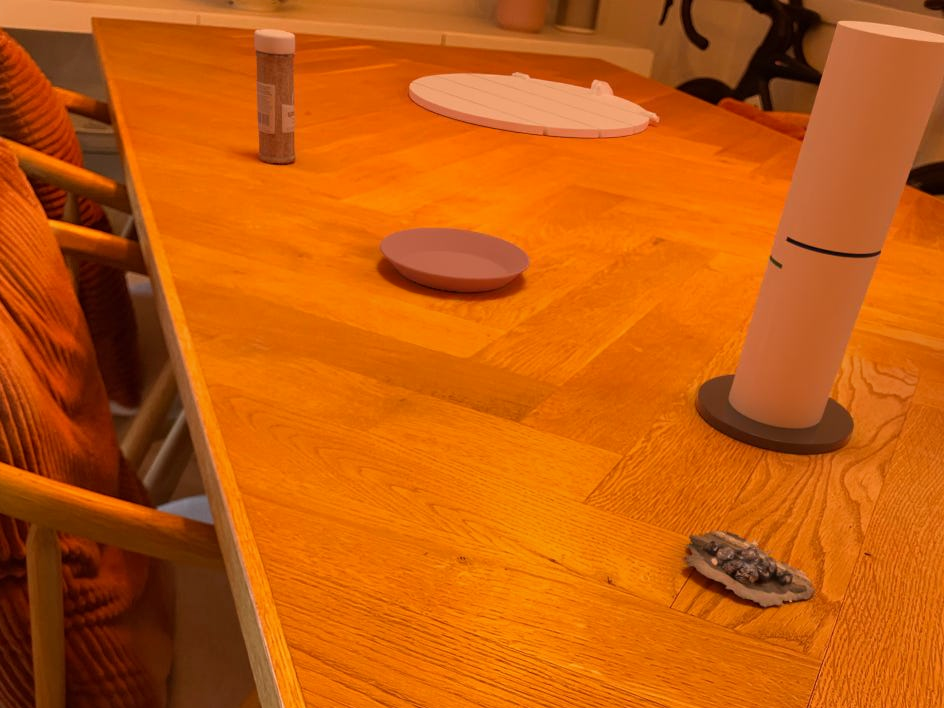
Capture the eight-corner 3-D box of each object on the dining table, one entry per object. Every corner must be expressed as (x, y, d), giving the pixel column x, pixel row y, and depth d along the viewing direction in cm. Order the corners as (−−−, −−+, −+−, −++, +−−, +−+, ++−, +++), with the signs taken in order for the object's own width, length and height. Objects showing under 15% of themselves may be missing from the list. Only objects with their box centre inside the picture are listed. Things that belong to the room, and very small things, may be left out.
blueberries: (688, 529, 62) (695, 503, 61) (816, 560, 61) (826, 534, 60) (674, 586, 57) (682, 559, 56) (814, 621, 56) (825, 594, 54)
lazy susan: (531, 77, 183) (533, 56, 181) (699, 127, 162) (705, 104, 160) (359, 86, 160) (360, 61, 158) (530, 146, 139) (534, 119, 137)
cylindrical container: (778, 435, 72) (910, 42, 57) (709, 395, 77) (813, 19, 61) (840, 418, 76) (980, 43, 60) (771, 380, 80) (884, 22, 65)
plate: (548, 299, 92) (551, 278, 90) (398, 300, 88) (399, 277, 86) (500, 248, 102) (503, 228, 101) (365, 246, 98) (365, 226, 97)
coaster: (862, 411, 79) (866, 402, 79) (834, 470, 71) (838, 460, 70) (719, 370, 83) (721, 361, 82) (675, 421, 74) (678, 411, 74)
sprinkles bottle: (300, 164, 119) (300, 36, 111) (264, 165, 117) (261, 34, 109) (288, 154, 122) (287, 28, 114) (252, 155, 120) (249, 27, 112)
